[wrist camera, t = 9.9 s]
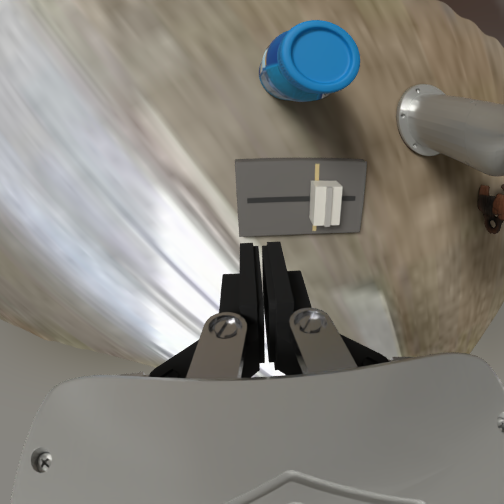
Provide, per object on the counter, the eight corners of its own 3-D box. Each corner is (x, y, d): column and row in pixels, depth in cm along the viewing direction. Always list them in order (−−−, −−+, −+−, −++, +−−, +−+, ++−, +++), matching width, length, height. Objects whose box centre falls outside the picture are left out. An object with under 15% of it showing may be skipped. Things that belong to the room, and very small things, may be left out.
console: (362, 159, 42) (367, 162, 40) (355, 226, 48) (359, 232, 46) (235, 159, 42) (235, 162, 40) (239, 231, 48) (239, 237, 46)
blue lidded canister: (260, 103, 38) (275, 105, 21) (254, 49, 34) (264, 10, 16) (317, 100, 38) (374, 104, 20) (312, 47, 33) (365, 14, 16)
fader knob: (336, 180, 42) (343, 187, 39) (333, 217, 45) (340, 226, 42) (310, 180, 42) (316, 187, 39) (309, 217, 45) (314, 227, 42)
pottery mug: (480, 170, 43) (514, 178, 36) (488, 179, 48) (517, 188, 41) (471, 226, 46) (504, 238, 39) (479, 230, 51) (508, 240, 44)
